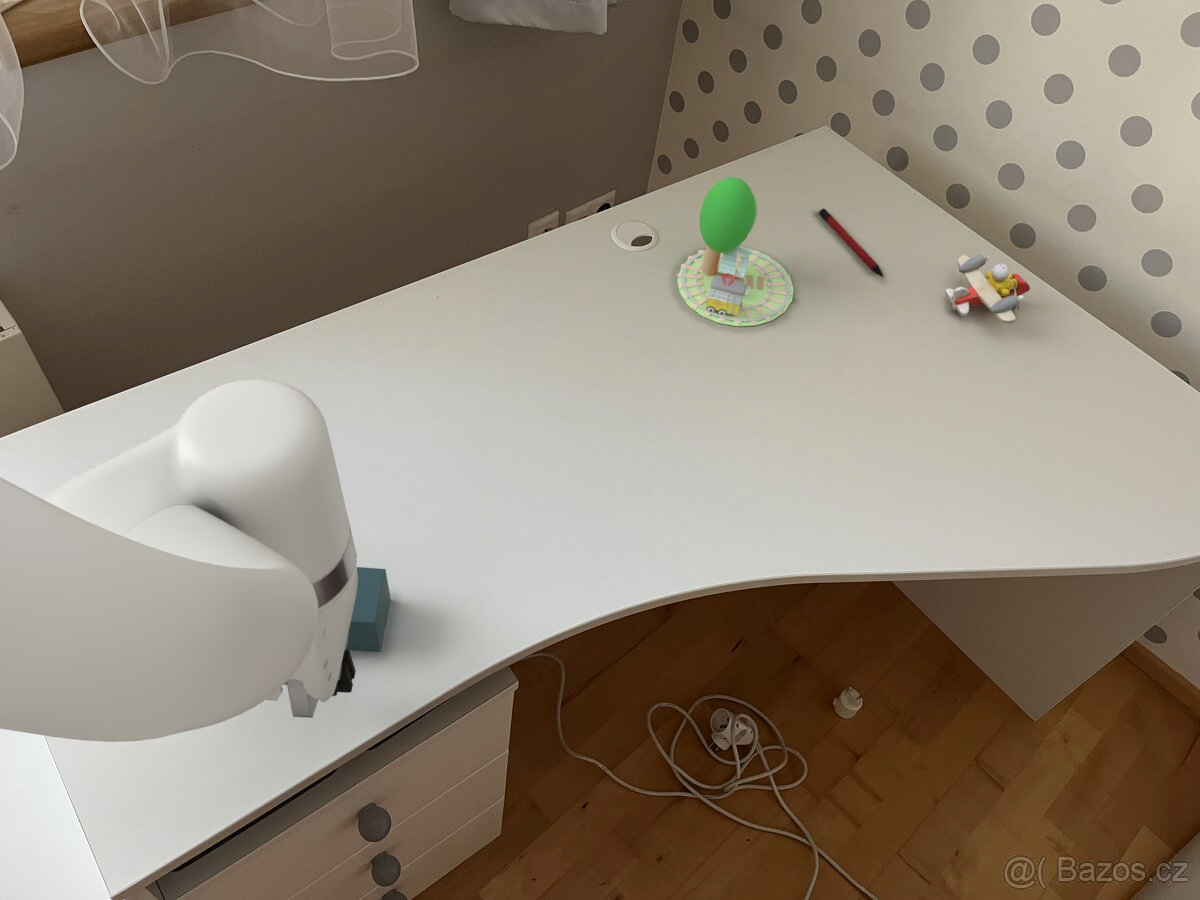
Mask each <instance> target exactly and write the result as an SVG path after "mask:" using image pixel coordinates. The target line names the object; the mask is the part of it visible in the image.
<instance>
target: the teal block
mask: <svg viewBox="0 0 1200 900" xmlns="http://www.w3.org/2000/svg"><path fill="white" fill-rule="evenodd" d="M357 573H358V585H357V592H356V598H355V603H354V608H353V613H352V618H351V623H350V627H349V632H348V644H347V648H346V649H345V650H350V651H365V652H381V651H382V648H383V647H382V646H383V641H384V636H385V630H386V626H387V620H388V616H389V611H390V610H389V609H390V605H391V599H392V598H391V593H390V588H389V587H390V586H389V581H388V575H387V570H386V568H376V567H364V566H363V567H362V566H357Z"/></svg>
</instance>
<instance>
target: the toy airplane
mask: <svg viewBox="0 0 1200 900" xmlns="http://www.w3.org/2000/svg"><path fill="white" fill-rule="evenodd" d="M990 258H991V256H990V252H989V251H987V253H985V255H983V254H978V255H976V256H973V257H969V256H968V255H967V254H963V255H961V256H960V257H958V259H957V266H958V272H959V273H961V274H962V275H963V277H964V279H965V281H966V282H967V285H968V286H969V287H968V288H966V287H964V286H958V287H956V288H947V289H946V290H945V295H946V297H947V298H948V300H949V302H951V303H952V307H951V308H952V310H953V311H957V312H958V313H959V314H960V316H961V317H966V316H968V315H969V312H970V307H972V306H985V307H986V308H987V309H988V310H989V312H990V313H991V314H993V315H994V316H995V317H996V318H997V319H998V320H999V321H1000V322H1002V323H1003V324H1013V323H1015V322H1016V319H1017V318H1016V315H1015V314H1014V313H1013V311H1014V310H1015V309H1017V311H1019V312H1021V311H1022V308H1021V305H1020V301H1023V300H1024V299H1025V296H1024V294H1025V293H1028V292H1029V291H1030V289H1031V286H1030V285H1029V283H1028V282H1027V280H1025V278H1024V277H1023V276H1022V275H1020V274H1018V273H1011V270H1010V268H1009V266H1008V265H1007V264H1005V263H997V264H995V265H994V266H993V267H992V268H991V271H988V272H986V273H985V275H984V274H983V272H982V271H981V269H980V268H982V267H983V266H985V264H986V262H988V260H989V259H990Z"/></svg>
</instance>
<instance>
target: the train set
mask: <svg viewBox="0 0 1200 900" xmlns="http://www.w3.org/2000/svg"><path fill="white" fill-rule="evenodd" d="M757 216H758V203H757V199H756V197H755V195H754V193H753V191H752V188H751V187H750V185H749V184H748V183H747V182H746V181H745V180H743V179H741V178H739V177H735V176H734V177H731V176H730V177H725V178H723V179H721V180H719V181H718V182H716V183H715V184H714V185H713V186H712V187H711V188H710V190H709V191H708V193H707V194H706V196H705V197H704V199H703V202H702V205H701V209H700V214H699V230H700V234H701V238H702V240H703V242H704V243H705V244H706V246H705V249H700V250H698V251H697V253H696V254H693V255H688V257H687V260H686V261H685V262H684V263H681V265H680V269H679V272H678V273H677V279H676V281H677V287H678V291H679V295H680V296H681V297H682V299H683V300H684V302H685V303H686V305H687V306H688V307H689V308H690V309H692V310H693V311H694V312H696V313H697V314H698V315H700V316H701V317H703V318H706V319H707V320H710V321H713V322H715V323H716V324H721V325H727V326H733V327H754V326H760V325H762V324H765V323H766V324H767V323H770V322H772V321H774V320H775V319H777V318H778V317H780V316H781V315H783V314H784V313H785V312H786V311H787V310H788V308H789V307H790V305H791V304H792V302H793V297H794V289H795V288H794V286H793V282H792V278H791V276H790V274H789V273H788V272H787V271H786V269H785V268H784V267H783V266H782V265H781V264H780V263H778V262H777V261H776V260H774V259H773V258H772V257H771V256H769V255H766V254H764V253H761V251H759V250H754V249H751V248H747V247H744V246H741V244H742V243H744V241H746V238H748V235H749V234H750V232H751V231H752V230H753V228H754V226H755V223H756V220H757ZM740 246H741V247H740Z"/></svg>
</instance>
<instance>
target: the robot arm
mask: <svg viewBox="0 0 1200 900" xmlns="http://www.w3.org/2000/svg"><path fill="white" fill-rule="evenodd" d="M325 419H326V418H325V417H324V415H323V413H322V411H321V410H320V408H319V406H317V404H316V403H315V402H314V401H313V400H312V398H311V397H309V396H308V395H307V394H305V392H303V391H302V390H300V389H298V388H296V387H294V386H293V385H291V384H288V383H284V382H282V381H279V380H274V379H269V378H246V379H238V380H234V381H230V382H227V383H223V384H221V385H218V386H216V387H214V388H212V389H210V390H208V391H206V392H205V393H204V394H202V395H200V396H199V397H197V398H196V400H194V401H193V402H192V403H191V404H189V406H188V407H187V408H186V410H185V411H184V412H183V413H182V415H181V416H180V418H179V420H177V422H176V423H175V424H174V425H172V426H171V427H169V428H167V429H165V430H164V431H161V432H160V433H158V434H157V435H155V436H153V437H151V438H149V439H147V440H145V441H144V442H141V443H140V444H137V445H135V446H134V447H132V448H130V449H128V450H126V451H124V452H122V453H119V454H118V455H116V456H113V457H111V458H109V459H108V460H105V461H104V462H101V463H99V464H98V465H95V466H93V467H92V468H89V469H88V470H86V471H84V472H82V473H80V474H78V475H76V476H74V477H73V478H71V479H69V480H67V481H65V482H64V483H63V484H61V485H59V486H58V487H56V488H55V489H52V491H50V492H49V493H48V494H46V495H45V496H44V497H42V498H41V497H39V496H37V495H35V494H34V493H31V492H29V491H28V490H26V489H24V488H22V487H20V486H18V485H16V484H15V483H12V482H10V481H8V480H6V479H4V478H3V477H1V476H0V729H1V730H7V731H11V732H12V731H13V732H19V733H24V734H25V733H26V734H32V735H39V736H45V737H51V738H59V739H67V740H68V739H69V740H78V741H89V742H107V743H116V742H122V743H123V742H138V741H147V740H155V739H160V738H165V737H169V736H173V735H176V734H181V733H186V732H190V731H194V730H199V729H203V728H208V727H211V726H214V725H217V724H220V723H223V722H226V721H229V720H231V719H233V718H236V717H238V716H240V715H242V714H244V713H246V712H248V711H250V710H252V709H254V708H255V707H257V706H258V705H260V704H261V703H263V702H265V701H266V700H267V701H273V702H277V701H278V700H279V698H280V696H281V695H282V693H283V690H284V689H283V686H287V687H286V688H287V692H288V697H289V703H290V708H291V713H292V717H293V718H309V719H313V717H314V714H315V712H316V708H317V705H318V701H319V700H320V702H321V703H322V704H323V703H326V702H327V701H329V700H330V699H331V698H333V697H336V696H337V695H338V693H346V694H348V693H349V694H350V693H352V691H353V686H354V683H353V680H354V679H355V676H356V673H357V672H356V667H355V664H354V661H353V657H352V653H351V650H348V649H346V648H347V644H348V632H349V627H350V623H351V618H352V613H353V608H354V603H355V598H356V592H357V585H358V573H357V567H358V565H357V564H358V557H357V556H358V555H357V549H356V546H355V541H354V536H353V532H352V528H351V523H350V520H349V515H348V511H347V506H346V502H345V497H344V493H343V489H342V484H341V479H340V476H339V472H338V467H337V462H336V458H335V455H334V449H333V445H332V441H331V437H330V433H329V429H328V425H327V423H326V420H325Z"/></svg>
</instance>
